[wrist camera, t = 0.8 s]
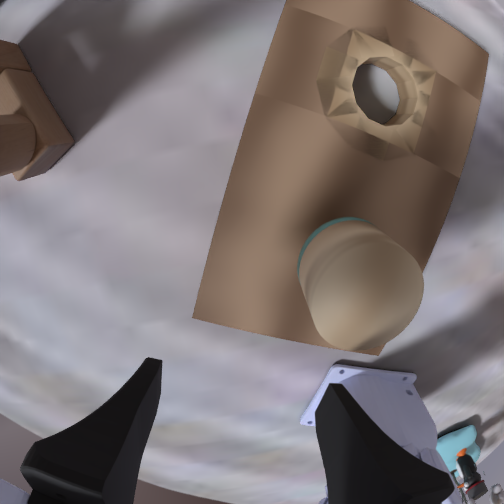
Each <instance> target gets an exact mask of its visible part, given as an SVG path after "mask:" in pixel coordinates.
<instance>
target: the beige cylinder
mask: <svg viewBox="0 0 504 504" xmlns="http://www.w3.org/2000/svg"><path fill="white" fill-rule="evenodd" d="M297 273H298V278H299V282H300V285H301V287H302V290H303V293H304V296H305V299H306V301H307V304H308V307H309V310H310V313H311V316H312V319H313V321H314V324H315V327H316V329H317V331H318V332H319V334H320V335H321V336H322V337H323V339H324V340H326V341H327V342H328V343H329V344H331V345H333V346H335V347H337V348H340V349H344V350H350V351H361V350H368V349H372V348H375V347H378V346H381V345H383V344H385V343H387V342H389V341H390V340H392V339H393V338H395V337H396V336H397V335H399V334H400V333H401V332H402V331H403V330H404V329H405V328H406V327H407V326H408V325H409V323H410V322H411V321H412V319H413V318H414V316H415V315H416V313H417V311H418V309H419V307H420V304H421V301H422V297H423V290H424V280H423V275H422V271H421V268H420V266H419V264H418V263H417V261H416V260H415V259H414V257H413V256H412V255H411V254H409V253H408V252H407V251H406V250H405V249H404V248H402V247H401V246H400V245H399V244H397V243H396V242H395V241H394V240H393V239H391V238H390V237H389V236H388V235H386V234H385V233H384V232H383V231H381V230H380V229H379V228H378V227H376V226H375V225H374V224H372V223H371V222H369V221H367V220H364V219H361V218H357V217H342V218H337V219H334V220H331V221H329V222H327V223H325V224H323V225H321V226H320V227H319V228H317V229H316V230H315V231H314V232H313V233H312V234H311V235H310V236H309V237H308V239H307V240H306V241H305V243H304V245H303V247H302V249H301V251H300V254H299V257H298V263H297Z"/></svg>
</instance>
